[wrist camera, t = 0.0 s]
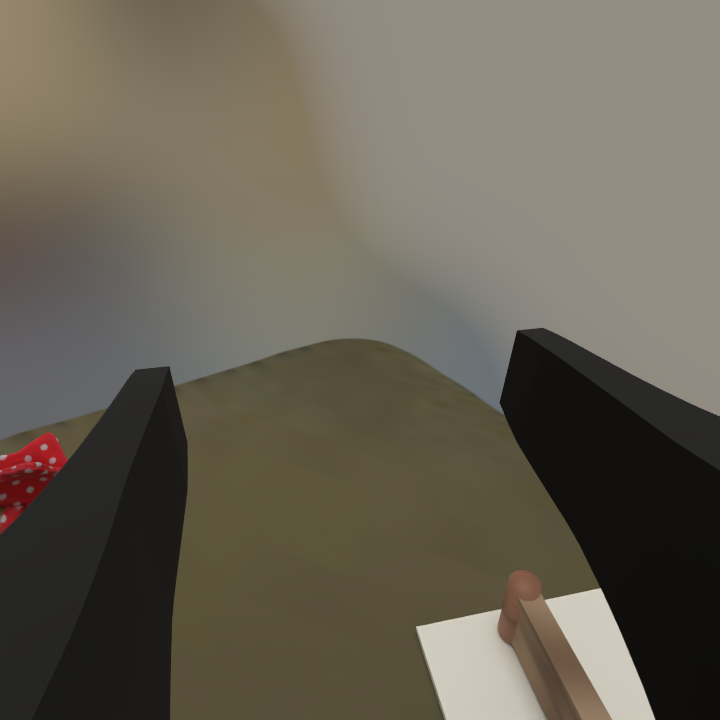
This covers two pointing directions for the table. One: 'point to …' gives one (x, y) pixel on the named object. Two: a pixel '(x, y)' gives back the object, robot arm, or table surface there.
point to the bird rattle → (27, 475)
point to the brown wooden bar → (546, 653)
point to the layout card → (506, 674)
